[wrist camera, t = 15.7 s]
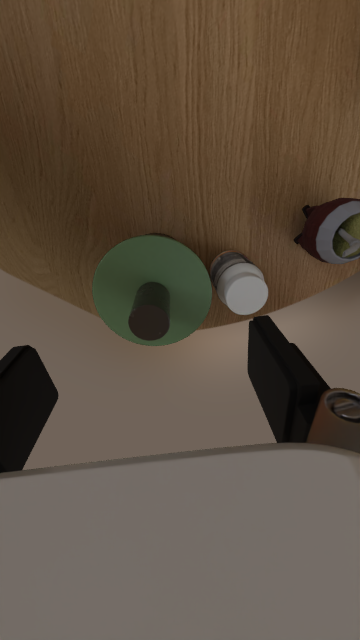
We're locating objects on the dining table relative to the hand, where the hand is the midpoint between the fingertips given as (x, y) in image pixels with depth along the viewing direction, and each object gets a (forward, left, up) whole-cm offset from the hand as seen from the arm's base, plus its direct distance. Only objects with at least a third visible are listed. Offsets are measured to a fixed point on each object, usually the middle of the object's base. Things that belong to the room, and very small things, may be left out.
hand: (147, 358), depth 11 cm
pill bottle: (+9, +5, -25) cm, 27 cm away
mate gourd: (+11, +17, -25) cm, 32 cm away
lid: (+2, -3, -16) cm, 16 cm away
